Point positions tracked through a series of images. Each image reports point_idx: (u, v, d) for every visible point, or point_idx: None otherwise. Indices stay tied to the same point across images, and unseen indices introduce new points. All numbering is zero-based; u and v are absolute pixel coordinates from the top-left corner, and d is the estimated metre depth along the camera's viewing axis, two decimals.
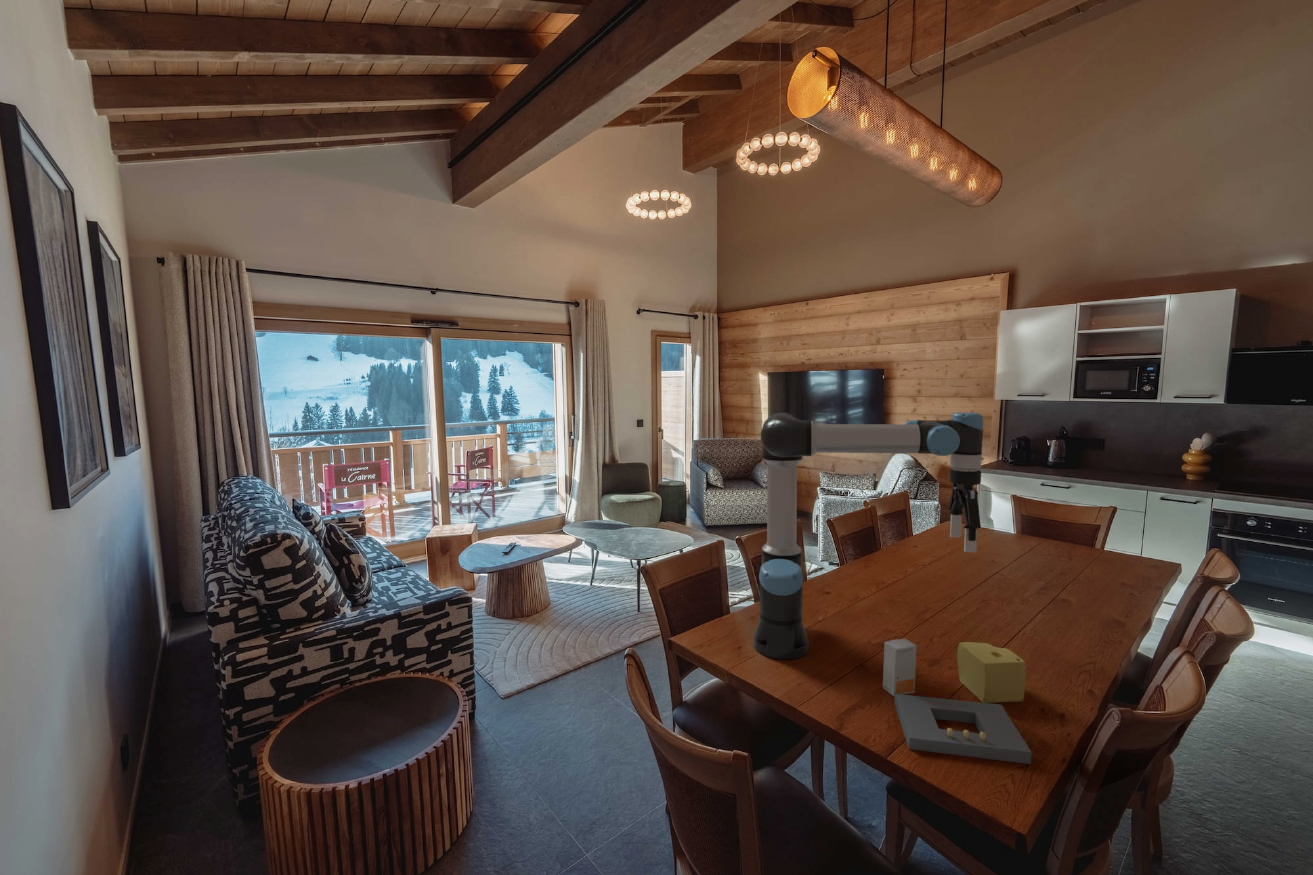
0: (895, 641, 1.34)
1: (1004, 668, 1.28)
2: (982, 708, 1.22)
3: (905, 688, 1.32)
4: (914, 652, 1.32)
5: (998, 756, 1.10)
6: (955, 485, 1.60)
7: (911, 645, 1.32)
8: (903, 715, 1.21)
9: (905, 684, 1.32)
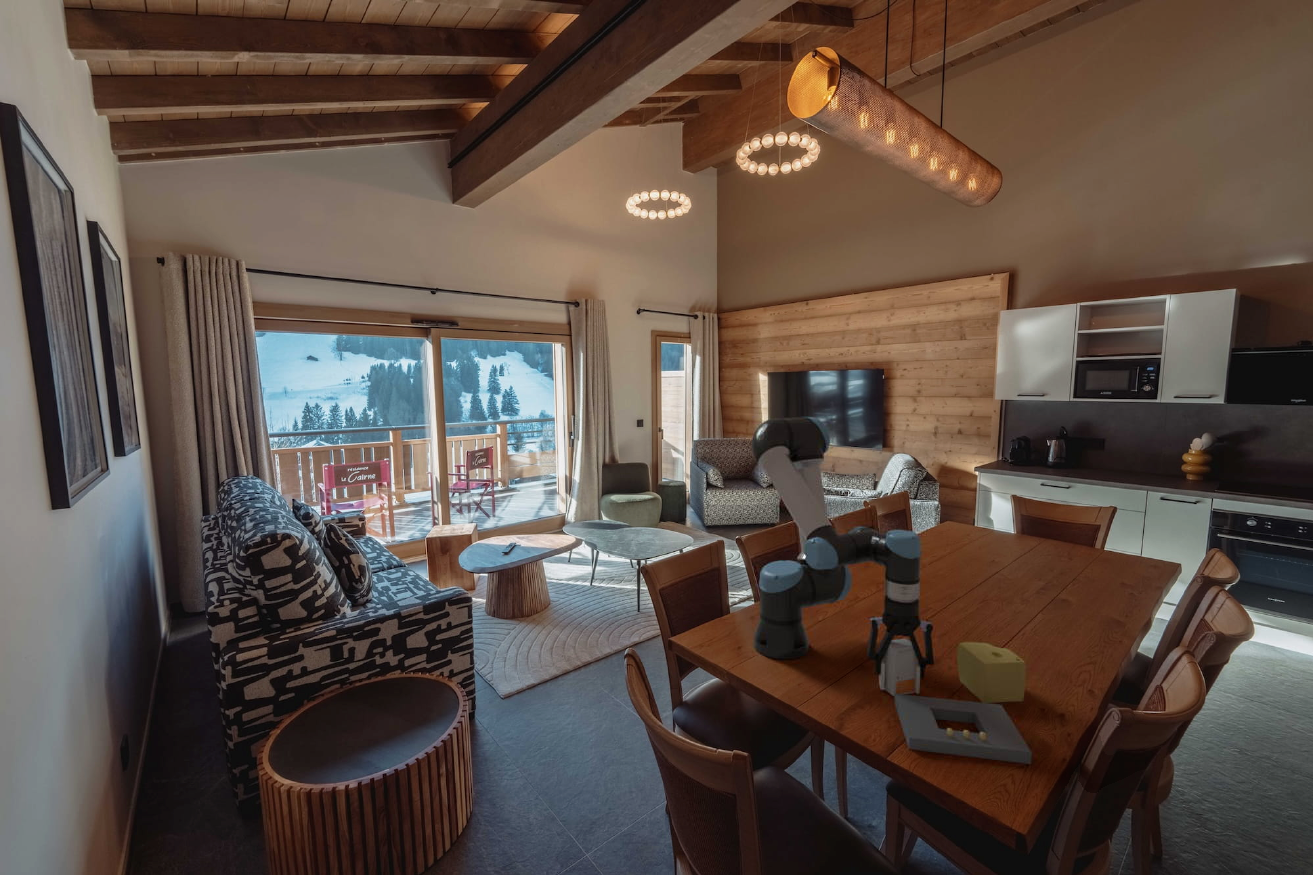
0: (895, 641, 1.34)
1: (1004, 668, 1.28)
2: (982, 708, 1.22)
3: (906, 688, 1.32)
4: None
5: (998, 756, 1.10)
6: None
7: (911, 645, 1.32)
8: (903, 715, 1.21)
9: (906, 684, 1.32)
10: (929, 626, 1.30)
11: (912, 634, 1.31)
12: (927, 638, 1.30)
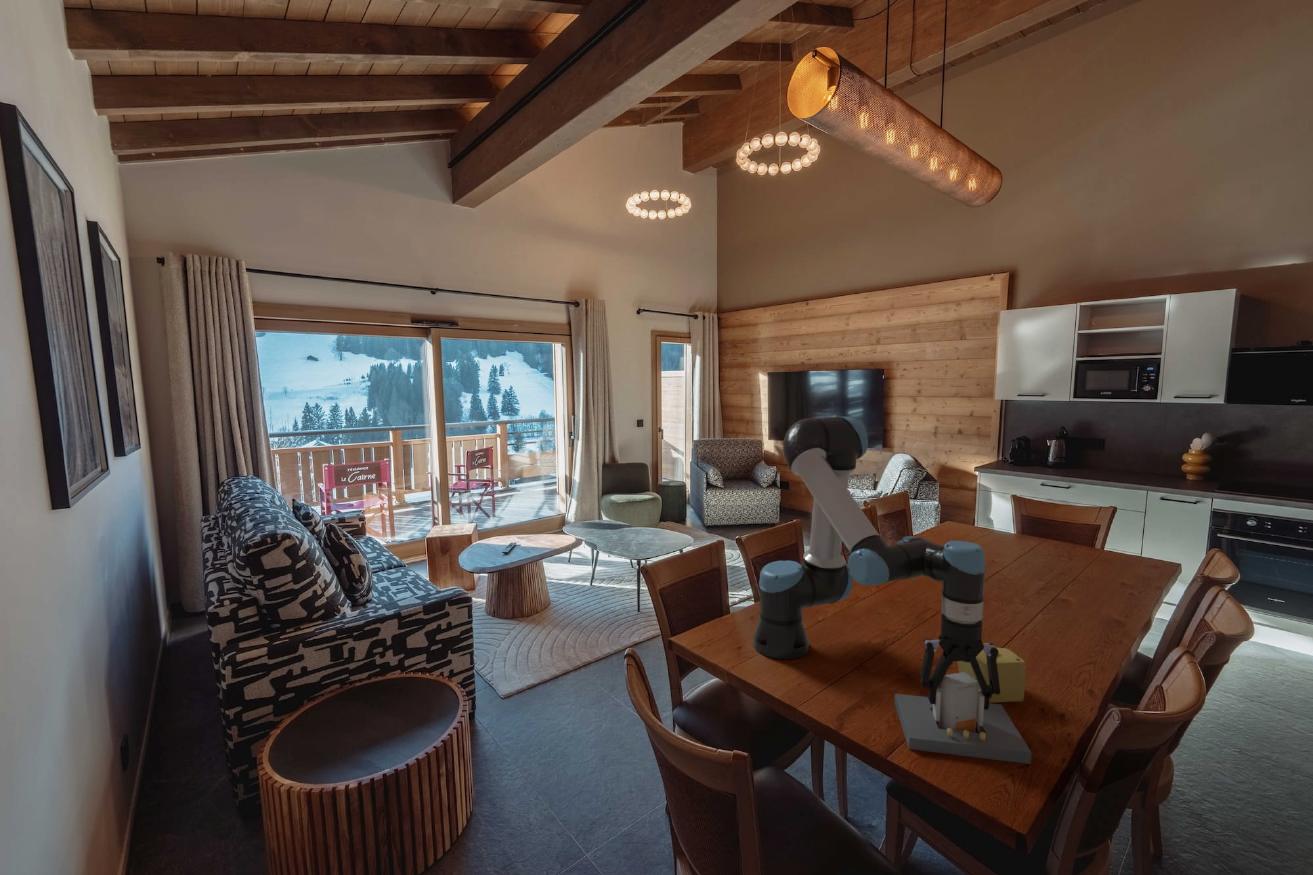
0: (953, 675, 1.19)
1: (1004, 668, 1.28)
2: None
3: (965, 729, 1.17)
4: (976, 689, 1.16)
5: (998, 756, 1.10)
6: None
7: (972, 681, 1.17)
8: (903, 715, 1.21)
9: (966, 725, 1.17)
10: (994, 650, 1.14)
11: (975, 660, 1.15)
12: (992, 664, 1.15)
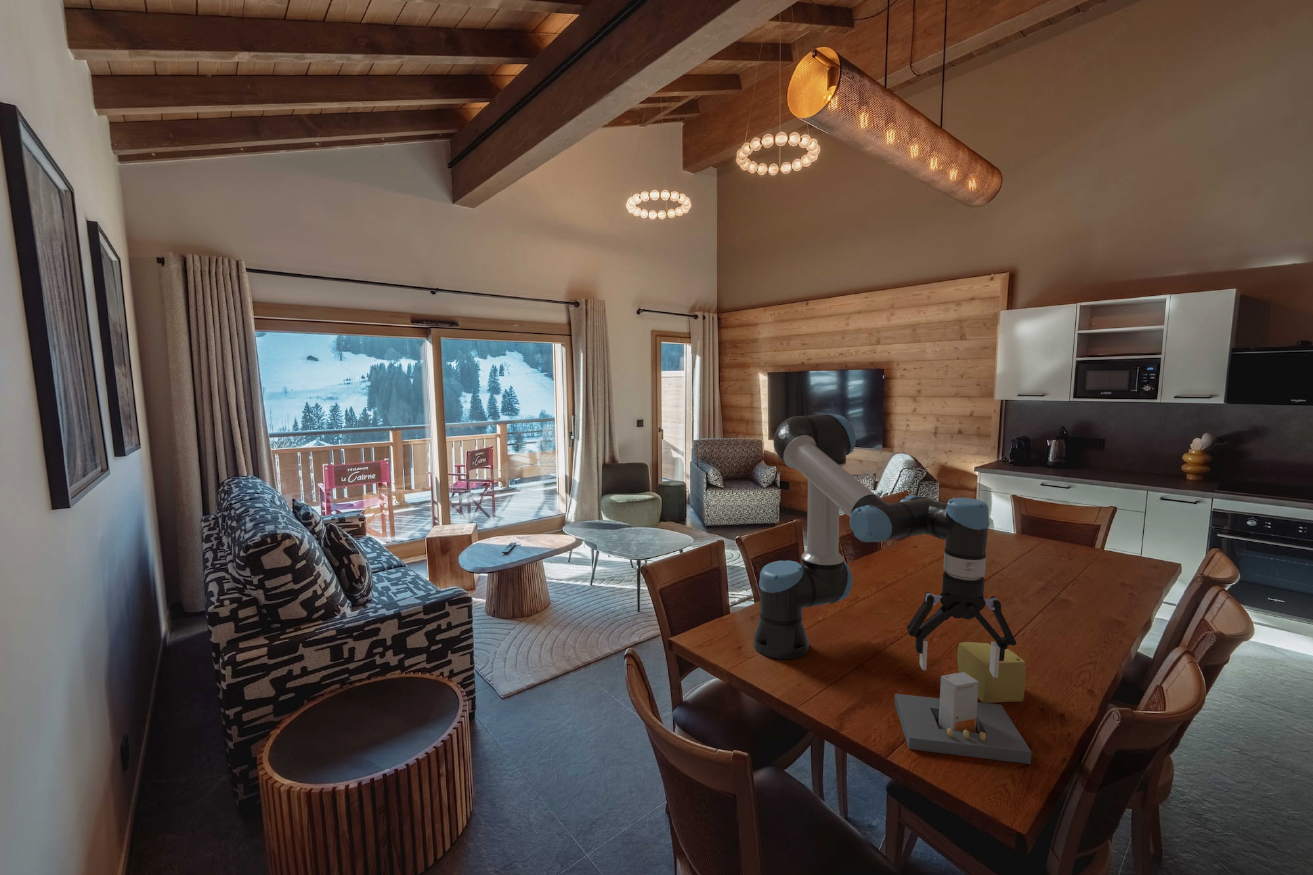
0: (953, 675, 1.19)
1: (1004, 668, 1.28)
2: (982, 708, 1.22)
3: (965, 729, 1.17)
4: (976, 689, 1.16)
5: (998, 756, 1.10)
6: None
7: (972, 681, 1.17)
8: (903, 715, 1.21)
9: (966, 725, 1.17)
10: (996, 603, 1.13)
11: (979, 615, 1.14)
12: (999, 617, 1.13)
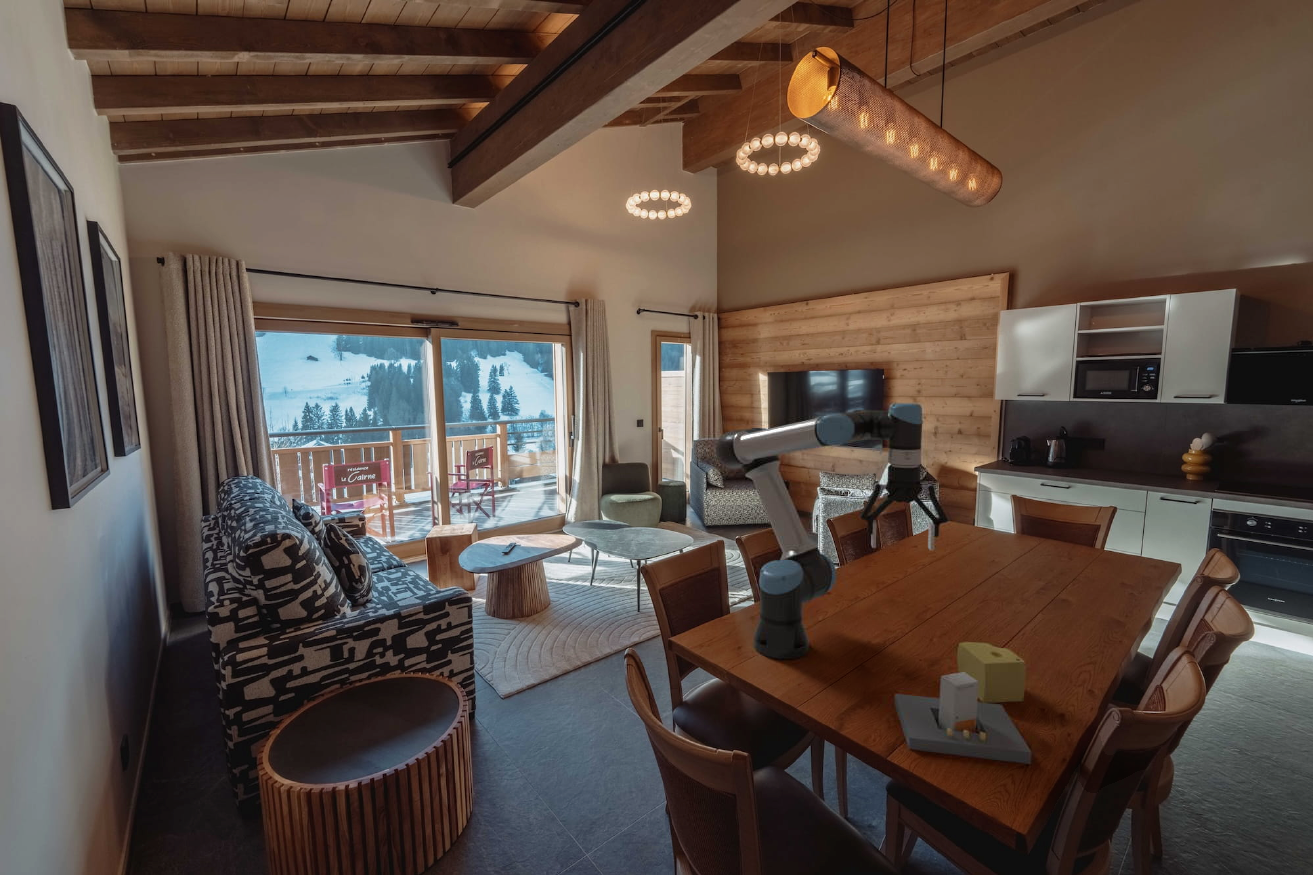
0: (953, 675, 1.19)
1: (1004, 668, 1.28)
2: (982, 708, 1.22)
3: (965, 729, 1.17)
4: (976, 689, 1.16)
5: (998, 756, 1.10)
6: None
7: (972, 681, 1.17)
8: (903, 715, 1.21)
9: (966, 725, 1.17)
10: (930, 487, 1.38)
11: (917, 498, 1.38)
12: (933, 499, 1.38)
